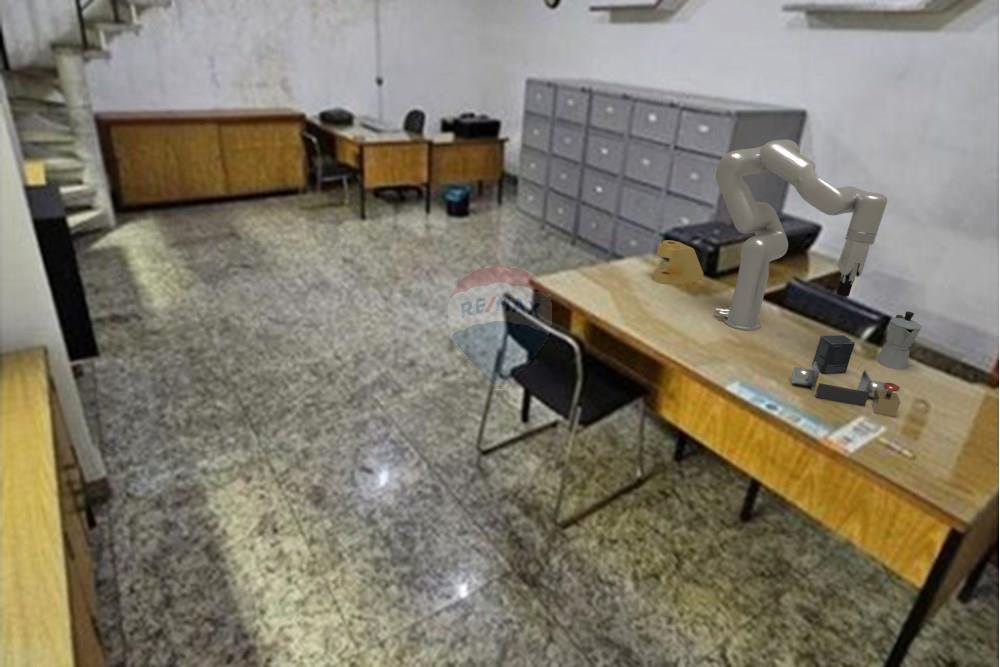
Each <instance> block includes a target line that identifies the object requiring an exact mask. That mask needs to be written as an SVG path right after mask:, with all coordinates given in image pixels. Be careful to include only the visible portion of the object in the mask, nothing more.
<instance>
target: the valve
mask: <svg viewBox="0 0 1000 667" xmlns="http://www.w3.org/2000/svg"><path fill="white" fill-rule="evenodd" d="M884 383H885V384H884V387H885V388H886V389H887V391H882V390H876V392H875V395H874V398H872V400H871V404H870V405H871V408H872V411H873V414H877V415H882V416H886V417H891V418H892V417H893V418H896V416H897V412H898V410H899V407H900V404H901V403H902V402H901V399H900V397H899V395H898V393H897V392H899V391H900V389H901V387H900V386H899V385H897V384H896V383H892V382H884Z"/></svg>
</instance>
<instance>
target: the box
mask: <svg viewBox="0 0 1000 667" xmlns="http://www.w3.org/2000/svg"><path fill="white" fill-rule="evenodd" d="M855 344H856V342H854V340H852V339H850V338H849V337H847V336H846V335H843V334H842V335H841V334H840V335H839V334H838V335H821V336H819V341H818V344H817V348H816V350H815V354H814V357H813V361H812V364H811V366H812V367H813V363H814V361H815V362H817V365H818V368H819V371H820V373H819V374H821V375H835V374H836V375H837V374H838V375H839V374H846V372H847V370H848V366H849V364H850V360H851V357H852V353H853V350H854V347H855Z"/></svg>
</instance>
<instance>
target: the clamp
mask: <svg viewBox="0 0 1000 667" xmlns="http://www.w3.org/2000/svg"><path fill="white" fill-rule="evenodd" d="M696 253H697V252H696V251H695V249H694V248H693V247H691V246H688V245H686V244H684V243H682V242H681V241H676V240H669V239H668V240H666V239H665V240H663V241H662V243H659V244H658V248H657V255H658V256H660V257H662V258H665V259H668V260H669V261H668V266H667V268H657V269H655V270H654V271H653V276H652V280H653V281H654V282H655V283H657V284H661V285H668V286H669V285H677V284H685V283H689V282H690V283H691V282H698V281H703V278H704V270H703V268H702V266H701V264H700V261H699V258H698V256H697V254H696Z"/></svg>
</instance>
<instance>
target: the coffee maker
mask: <svg viewBox="0 0 1000 667" xmlns="http://www.w3.org/2000/svg"><path fill="white" fill-rule="evenodd" d="M914 315H915V313H914V312H912V311H905V313H904V316H903V315H901V314H897V315H895V317H892V318H891V319H890V320H889V325H888V330H887V334H886V339H885V340H886V342H885V343H884V344H883V346H882V348H881V350H880V351H879V353H878V355H877V356H876V358H875V359H876V361H877V364H880V365H881V366H883V367H886V368H888V369H894V370H899V371H902V370H904V369H907V368H908V362H909V356H910V352H911V351H910V348H911V347H912V346H913V343H914V342H915V340H916V338H917V336H918V334H919V333H920V330H921V329H922V327H923V325H921V324H919V323H918V322H917V321H915V320H912V318H913V317H914Z"/></svg>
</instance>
